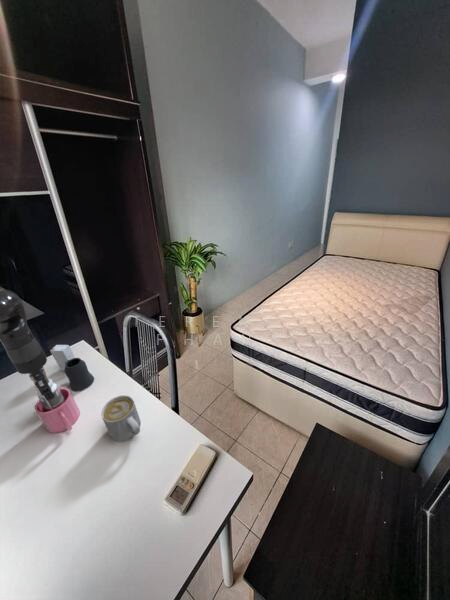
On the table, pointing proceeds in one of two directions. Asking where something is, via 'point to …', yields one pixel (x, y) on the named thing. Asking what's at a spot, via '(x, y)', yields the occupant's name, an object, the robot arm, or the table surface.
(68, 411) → the pink ribbed cup
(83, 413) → the table surface
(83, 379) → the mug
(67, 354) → the cosmetic box
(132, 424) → the coffee mug
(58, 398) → the pill bottle
